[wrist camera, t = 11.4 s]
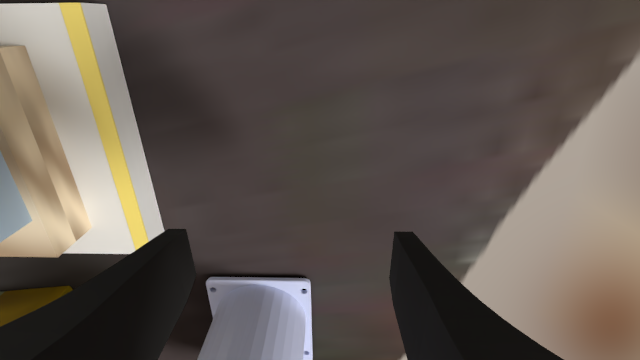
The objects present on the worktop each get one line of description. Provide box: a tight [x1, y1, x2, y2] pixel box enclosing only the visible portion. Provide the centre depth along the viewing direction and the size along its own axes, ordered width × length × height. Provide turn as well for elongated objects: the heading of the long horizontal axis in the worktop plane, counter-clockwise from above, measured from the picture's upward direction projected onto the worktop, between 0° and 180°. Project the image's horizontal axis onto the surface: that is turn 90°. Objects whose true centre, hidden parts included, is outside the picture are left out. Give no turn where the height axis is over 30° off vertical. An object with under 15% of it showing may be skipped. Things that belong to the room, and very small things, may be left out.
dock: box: [0, 3, 164, 254], centre depth 20 cm, size 15×12×2 cm
